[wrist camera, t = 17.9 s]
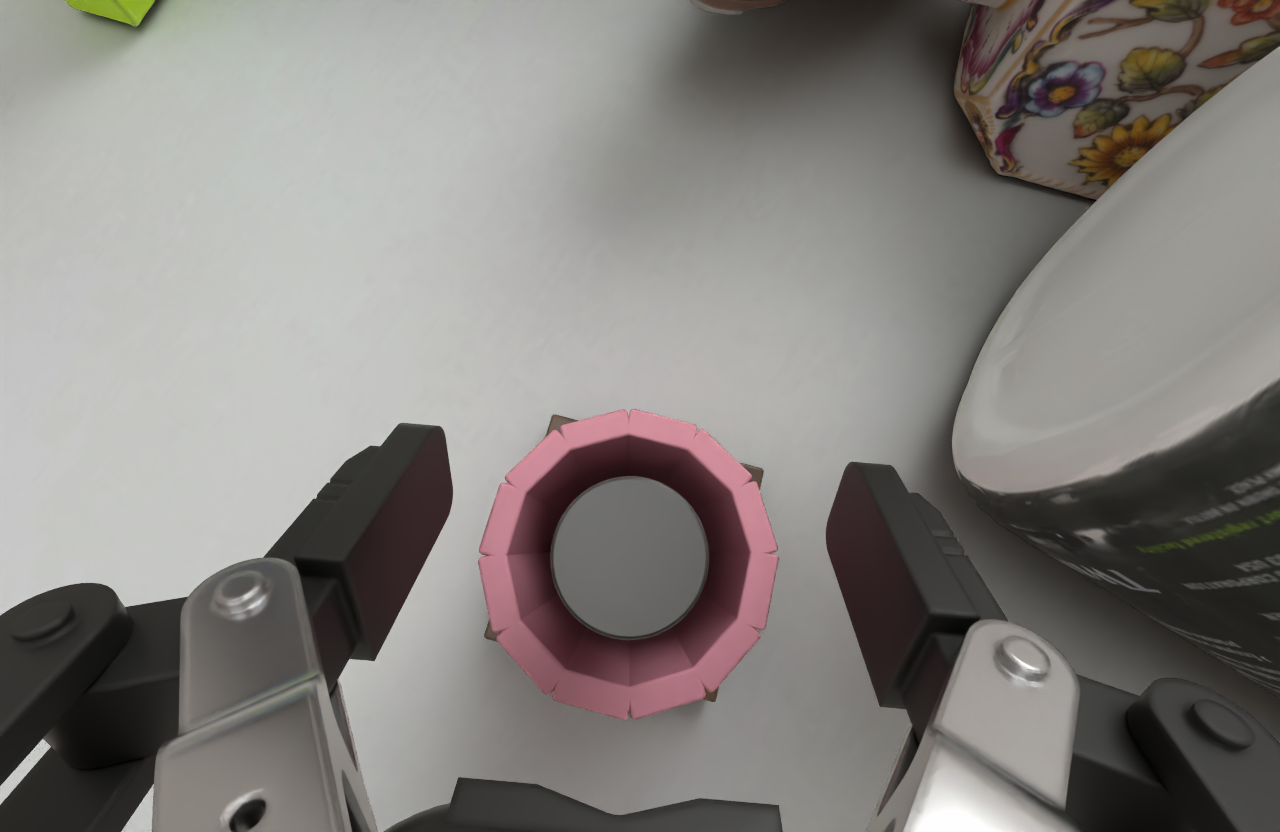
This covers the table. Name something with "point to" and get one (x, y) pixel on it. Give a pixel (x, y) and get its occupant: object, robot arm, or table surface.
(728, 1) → the sneaker
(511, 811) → the robot arm
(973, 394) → the supplement tub
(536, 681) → the pink hollow tube
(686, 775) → the table surface
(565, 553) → the peg stand
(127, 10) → the box
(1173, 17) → the decorative jar
